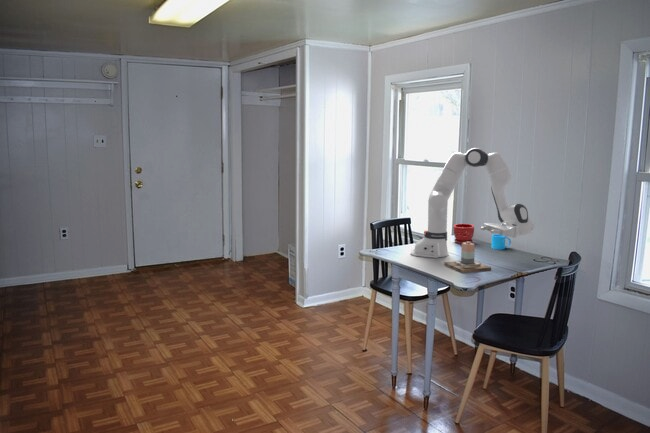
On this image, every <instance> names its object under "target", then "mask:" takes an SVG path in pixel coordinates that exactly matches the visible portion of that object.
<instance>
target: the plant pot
mask: <svg viewBox="0 0 650 433" xmlns="http://www.w3.org/2000/svg"><path fill="white" fill-rule="evenodd" d="M474 234H475V226H474V225H473V224H472V223H471V224H469V223H457V224H454V225H453V235H454V237H455V239H454V242H455V243H456V244H460V245H462V243H466V242H471V243H473V237H474Z"/></svg>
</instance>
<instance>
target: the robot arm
mask: <svg viewBox="0 0 650 433" xmlns="http://www.w3.org/2000/svg"><path fill="white" fill-rule="evenodd" d="M468 166H469V167H473V168H478V167H484V168H485V170H486V171H487V174H488V176H489V178H490V183H491V187H490V188H491V189H490V190H491V193H492V197H493V201H494V203H495V206H496V210H497V217H498V220H499V222H500V224H499V223H493V222H484V223H483V225H482V226H481V227H480V230H481V231H488V232H490V233H491V234H492V235H494V234H500V235H503V236H504V237H508V238H516V239H517V238H518V237H524V236H529V235H531V234H532V233H533V231H534V229H535V223H534V222H533V221H532V220H531V219H530V216H529V212H528V208H527V207H526V206H525V205H524V204H522V203H516V204H513V205H511V206H510V205H509V206H508V203H507V201H506V197H505V193H504V190H505V189H506V187H507V185H508V184H509V183H510V182H511V179H512V175H511V172H510V170H509V167H508V165H507V163H506V160H505V159H504V158H503V157H502V155H501V154H500V153H499V152H496V151H495V152H491V153H486V152H485V151H484V150H483V149H482V148H480V147H473V148H470V149H468V150H467V151H466V153H462V152H459V151H456V152H454V153H452V154H451V155H450V157H449V158H448V160H447V161H446V163H445V165H444V167H443V169H442V170H441V173H440V174H439V177H438V178H437V180H436V183H434V186H433V188H432V190H431V192H430V193H429V196H428V200H427V202H428V205H427V206H428V208H427V210H428V211H427V212H428V213H427V216H428V217H427V218H428V219H427V230H424V232H423V234H424V237H422V238H420V240H418V241H417V242H416V243H415V246H414V249H412V250H411V251H410V255H411V256H414V257H424V258H432V259H433V258H435V259H438V258H444V257H448V256H449V252H448V251H449V250H448V244H447V243H448V242H447V241H448V231H447V228H448V224H447V223H448V205H449V204H448V201H449V199H450V197H451V195H452V193H453V191H454V190H455V188H456V186H457V185H458V183H459V181H460V179H461V177H462V175H463V173H464V171H465V169H466V168H467V167H468Z"/></svg>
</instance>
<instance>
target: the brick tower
mask: <svg viewBox="0 0 650 433" xmlns="http://www.w3.org/2000/svg"><path fill="white" fill-rule="evenodd" d="M475 247H476V244H475V243H473V242H472V243H471V242H466V243H462V244H461V258H460V259H461V260H460V261H461V263H463V264H465V265H469V264H474V261H475V256H476V255H475V254H476V252H475V250H476V249H475Z"/></svg>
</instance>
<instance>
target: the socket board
mask: <svg viewBox="0 0 650 433" xmlns="http://www.w3.org/2000/svg"><path fill="white" fill-rule="evenodd" d="M443 264H444V265H443V266H446V267H448V268H450V269H452V270H455V271H457V272H460V273H461V274H468V273H475V272H476V273H477V272H486V271H492V266H490V265H488V264H487V265H486V264H484V263H482V262H480V261H476V260H474V264H469V265H465V264H463V263H461V260H456V261H454V260H453V261H445V262H444V263H443Z"/></svg>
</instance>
